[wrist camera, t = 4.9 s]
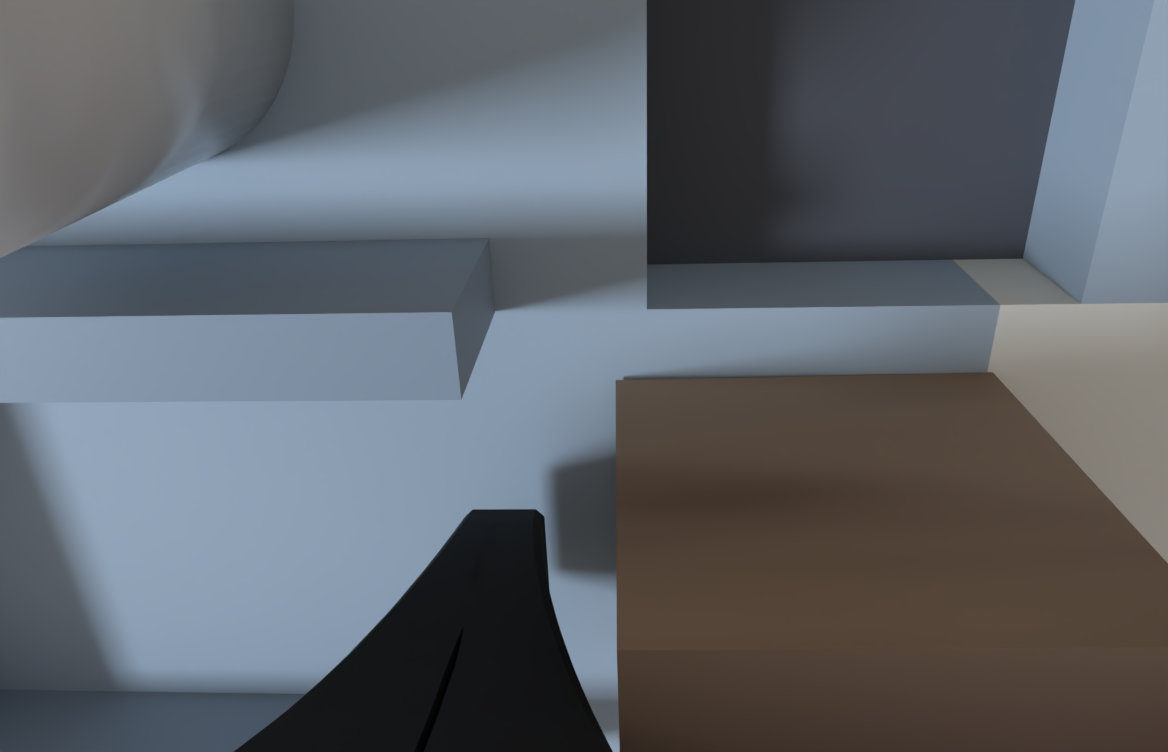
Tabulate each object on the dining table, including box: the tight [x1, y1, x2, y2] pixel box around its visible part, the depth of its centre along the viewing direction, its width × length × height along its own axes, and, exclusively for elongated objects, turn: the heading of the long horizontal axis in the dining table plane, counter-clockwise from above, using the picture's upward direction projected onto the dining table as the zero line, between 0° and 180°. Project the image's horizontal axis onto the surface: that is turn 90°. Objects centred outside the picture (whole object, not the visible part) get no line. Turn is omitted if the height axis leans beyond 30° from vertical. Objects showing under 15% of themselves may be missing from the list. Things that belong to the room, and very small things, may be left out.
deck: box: [0, 0, 1168, 752], centre depth 11 cm, size 17×24×4 cm
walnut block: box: [616, 372, 1168, 752], centre depth 10 cm, size 5×5×5 cm
